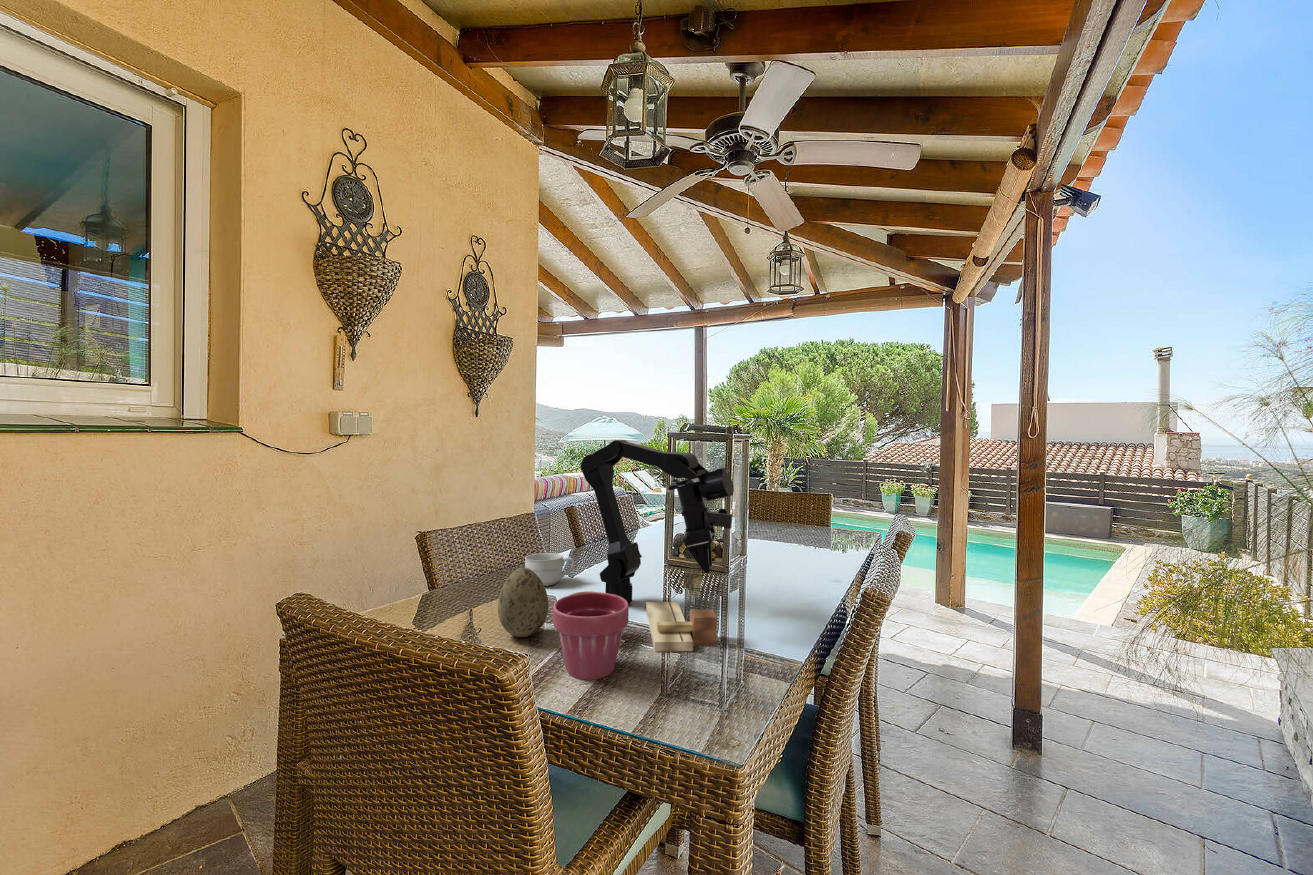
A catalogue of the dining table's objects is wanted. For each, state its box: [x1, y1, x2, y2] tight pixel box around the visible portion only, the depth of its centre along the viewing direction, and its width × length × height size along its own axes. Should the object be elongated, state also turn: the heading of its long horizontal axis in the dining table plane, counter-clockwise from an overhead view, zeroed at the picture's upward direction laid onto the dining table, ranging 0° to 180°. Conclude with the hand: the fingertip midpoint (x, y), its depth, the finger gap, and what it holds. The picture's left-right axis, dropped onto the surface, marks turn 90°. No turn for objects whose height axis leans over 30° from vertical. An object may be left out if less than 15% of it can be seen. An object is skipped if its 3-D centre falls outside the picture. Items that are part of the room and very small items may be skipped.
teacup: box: [524, 552, 576, 587], centre depth 163 cm, size 14×11×8 cm
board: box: [645, 601, 694, 653], centre depth 131 cm, size 8×25×2 cm, turn 5°
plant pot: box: [552, 591, 630, 680], centre depth 109 cm, size 14×14×13 cm
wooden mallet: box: [657, 609, 718, 646], centre depth 124 cm, size 12×5×6 cm, turn 95°
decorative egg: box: [497, 566, 550, 638], centre depth 125 cm, size 11×11×15 cm
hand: (708, 569), depth 135 cm, fingers open, 9 cm apart
